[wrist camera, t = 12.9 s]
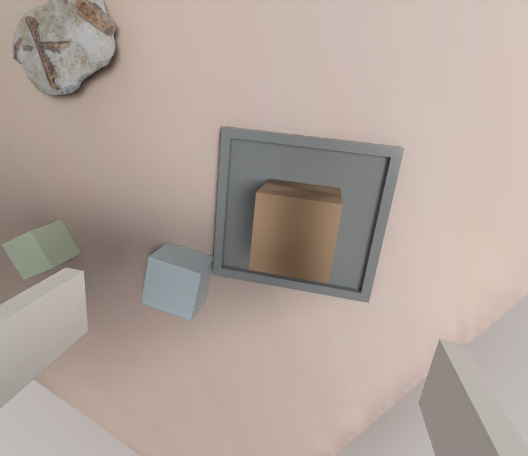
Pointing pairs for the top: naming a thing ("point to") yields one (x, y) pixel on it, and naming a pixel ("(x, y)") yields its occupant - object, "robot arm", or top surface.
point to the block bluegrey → (177, 280)
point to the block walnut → (295, 229)
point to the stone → (64, 43)
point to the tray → (310, 172)
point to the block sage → (41, 249)
